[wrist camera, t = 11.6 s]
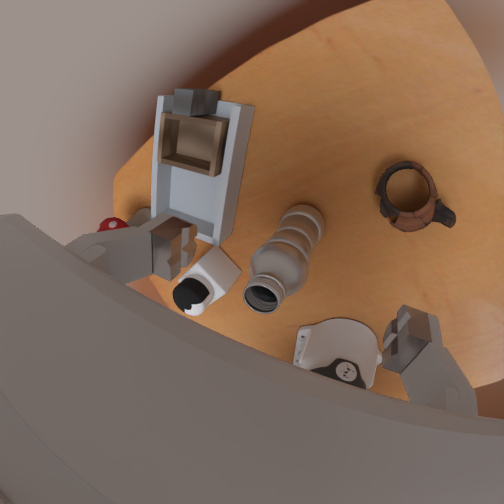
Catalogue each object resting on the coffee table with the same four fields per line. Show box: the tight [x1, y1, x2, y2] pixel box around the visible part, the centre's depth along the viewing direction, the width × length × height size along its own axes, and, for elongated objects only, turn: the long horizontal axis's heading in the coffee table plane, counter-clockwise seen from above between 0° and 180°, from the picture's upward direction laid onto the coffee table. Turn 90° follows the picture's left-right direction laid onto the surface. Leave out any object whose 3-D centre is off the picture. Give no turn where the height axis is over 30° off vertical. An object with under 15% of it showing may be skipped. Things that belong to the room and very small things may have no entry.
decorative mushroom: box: [97, 208, 151, 232], centre depth 48 cm, size 10×9×15 cm
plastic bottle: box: [243, 205, 324, 314], centre depth 34 cm, size 6×7×20 cm
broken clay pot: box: [375, 161, 456, 232], centre depth 32 cm, size 12×10×8 cm
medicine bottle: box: [173, 245, 242, 316], centre depth 48 cm, size 7×7×12 cm
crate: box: [157, 89, 230, 178], centre depth 37 cm, size 12×10×7 cm
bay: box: [151, 95, 255, 247], centre depth 42 cm, size 22×14×5 cm, turn 169°
